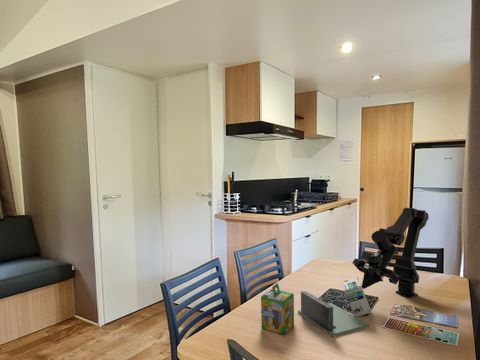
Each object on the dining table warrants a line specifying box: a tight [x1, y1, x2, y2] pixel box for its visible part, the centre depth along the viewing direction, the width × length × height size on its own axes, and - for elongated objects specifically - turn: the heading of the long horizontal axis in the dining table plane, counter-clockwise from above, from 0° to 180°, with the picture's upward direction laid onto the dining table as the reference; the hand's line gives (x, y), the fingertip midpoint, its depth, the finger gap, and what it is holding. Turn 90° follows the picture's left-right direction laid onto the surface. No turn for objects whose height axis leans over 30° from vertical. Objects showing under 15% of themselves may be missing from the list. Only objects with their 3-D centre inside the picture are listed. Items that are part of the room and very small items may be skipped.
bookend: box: [300, 290, 336, 332], centre depth 116 cm, size 4×16×8 cm, turn 24°
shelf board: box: [297, 302, 370, 338], centre depth 119 cm, size 16×20×1 cm
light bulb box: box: [341, 276, 373, 318], centre depth 125 cm, size 11×7×11 cm, turn 168°
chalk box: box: [260, 283, 295, 336], centre depth 114 cm, size 9×9×15 cm
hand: (362, 287), depth 124 cm, fingers closed
